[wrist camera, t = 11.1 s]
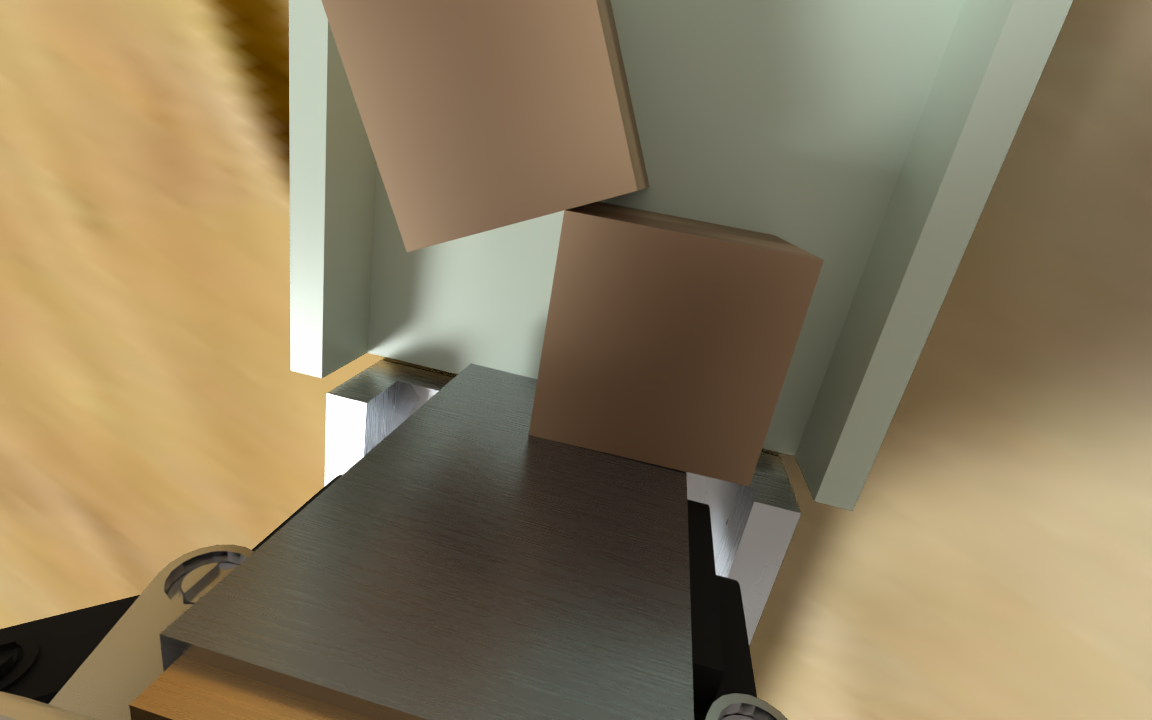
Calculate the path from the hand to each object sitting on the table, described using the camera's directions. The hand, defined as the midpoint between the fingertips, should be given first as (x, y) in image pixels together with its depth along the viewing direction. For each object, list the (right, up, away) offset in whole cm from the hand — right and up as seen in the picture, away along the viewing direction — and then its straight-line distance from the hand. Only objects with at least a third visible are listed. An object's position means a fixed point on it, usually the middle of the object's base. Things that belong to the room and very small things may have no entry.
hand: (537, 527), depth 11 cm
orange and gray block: (0, 0, +2) cm, 2 cm away
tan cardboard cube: (+3, +5, +1) cm, 6 cm away
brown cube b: (0, +9, +1) cm, 9 cm away
